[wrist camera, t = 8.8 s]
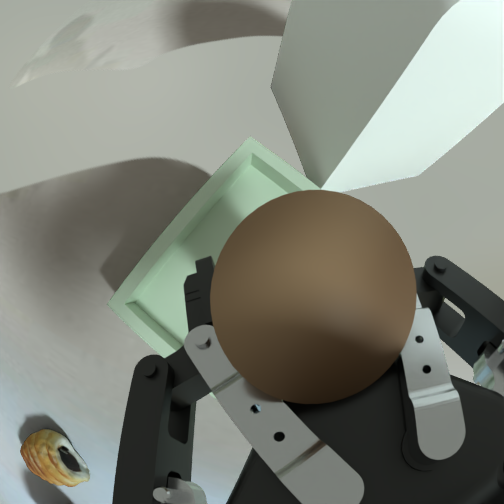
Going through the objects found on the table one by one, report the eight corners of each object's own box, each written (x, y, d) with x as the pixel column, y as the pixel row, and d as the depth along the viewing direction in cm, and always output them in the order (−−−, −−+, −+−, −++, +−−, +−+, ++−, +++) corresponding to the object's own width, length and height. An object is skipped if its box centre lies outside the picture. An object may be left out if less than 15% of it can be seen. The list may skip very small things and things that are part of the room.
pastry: (48, 479, 18) (33, 492, 14) (18, 432, 18) (-1, 442, 15) (98, 475, 19) (83, 493, 15) (62, 422, 19) (42, 435, 16)
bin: (122, 303, 21) (106, 304, 18) (248, 154, 23) (249, 136, 20) (277, 425, 20) (282, 442, 17) (394, 274, 22) (413, 271, 19)
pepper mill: (211, 300, 17) (158, 314, 6) (266, 233, 18) (301, 145, 7) (278, 353, 17) (333, 441, 6) (331, 286, 17) (448, 276, 6)
